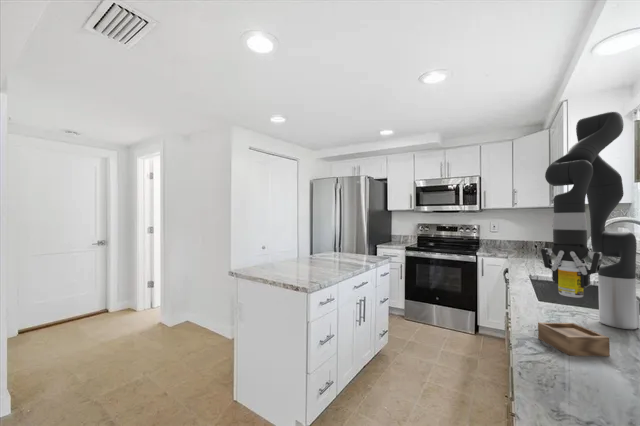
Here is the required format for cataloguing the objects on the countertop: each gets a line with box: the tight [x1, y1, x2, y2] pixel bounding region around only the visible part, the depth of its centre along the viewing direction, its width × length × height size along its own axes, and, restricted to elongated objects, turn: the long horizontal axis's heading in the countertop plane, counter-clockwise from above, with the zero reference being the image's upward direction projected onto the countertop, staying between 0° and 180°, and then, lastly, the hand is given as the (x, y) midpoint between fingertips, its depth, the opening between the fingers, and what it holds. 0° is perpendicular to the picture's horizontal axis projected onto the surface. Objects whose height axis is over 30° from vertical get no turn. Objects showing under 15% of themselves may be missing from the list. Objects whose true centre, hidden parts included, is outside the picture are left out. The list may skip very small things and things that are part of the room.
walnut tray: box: [537, 321, 611, 357], centre depth 82 cm, size 11×11×5 cm
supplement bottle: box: [557, 260, 585, 298], centre depth 82 cm, size 6×6×10 cm
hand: (570, 285), depth 82 cm, fingers closed on supplement bottle, 5 cm apart
